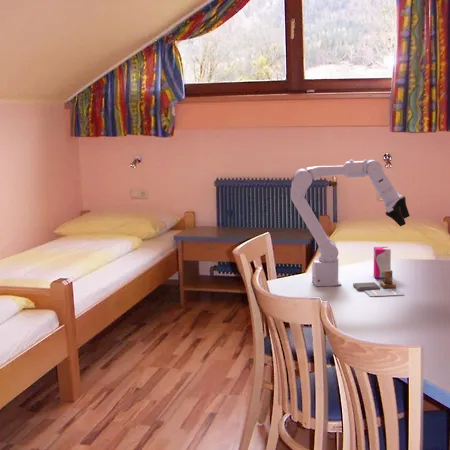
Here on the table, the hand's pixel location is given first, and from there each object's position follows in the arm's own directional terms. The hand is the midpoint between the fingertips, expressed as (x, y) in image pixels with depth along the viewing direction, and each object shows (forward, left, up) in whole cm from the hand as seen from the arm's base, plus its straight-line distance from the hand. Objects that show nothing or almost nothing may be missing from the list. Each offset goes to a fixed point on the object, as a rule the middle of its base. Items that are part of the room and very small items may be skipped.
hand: (405, 221), depth 251 cm
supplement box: (-5, +10, -23) cm, 26 cm away
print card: (-11, -13, -23) cm, 29 cm away
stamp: (-7, -4, -23) cm, 25 cm away
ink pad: (-15, -5, -23) cm, 28 cm away
